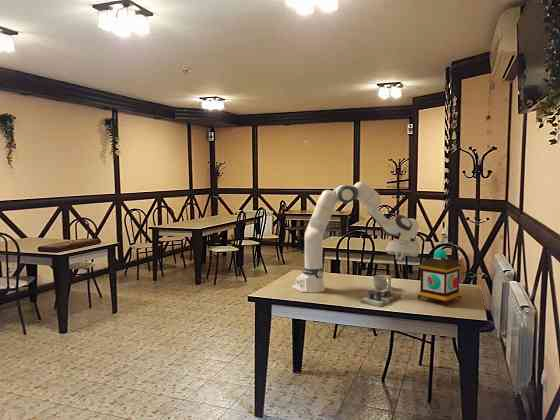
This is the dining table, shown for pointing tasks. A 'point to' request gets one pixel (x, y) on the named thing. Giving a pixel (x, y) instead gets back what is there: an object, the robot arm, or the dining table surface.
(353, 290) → the dining table surface
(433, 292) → the decorative lantern
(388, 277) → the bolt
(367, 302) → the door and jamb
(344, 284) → the dining table surface
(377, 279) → the teacup
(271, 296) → the dining table surface
